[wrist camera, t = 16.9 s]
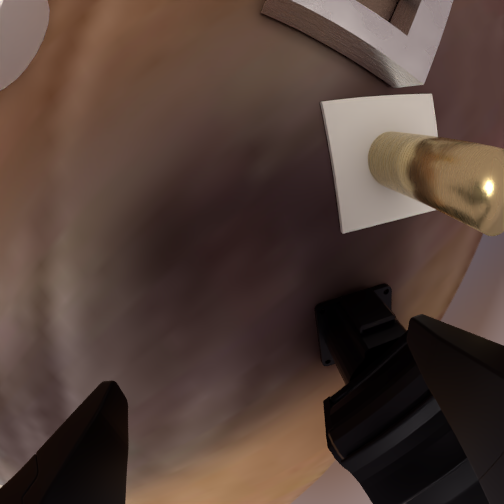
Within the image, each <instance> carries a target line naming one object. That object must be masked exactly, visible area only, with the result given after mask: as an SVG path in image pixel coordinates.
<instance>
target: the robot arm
mask: <svg viewBox="0 0 504 504" xmlns="http://www.w3.org/2000/svg"><path fill="white" fill-rule="evenodd" d="M386 289H387V290H386ZM384 290H386V291H385V292H384ZM391 293H392V290H391V287H390V286H389V285H388V284H383V285H380V286H377V287H374V288H371V289H370V288H369V289H366V290H363V291H360V292H356V293H353V294H350V295H346V296H343V297H341V298H338V299H335V300H331V301H328V302H324V303H321V304H319V305H317V306H316V308H315V315H316V323H317V331H318V339H319V347H320V355H321V362H322V364H323V365H324V366H329V365H332V364H336V366H337V368H338V370H339V372H340V374H341V376H342V378H343V380H344V382H345V384H346V385H345V386H344V387H343V388H342V389H340V390H339V391H338V392H337V393H335V394H334V395H333V396H331V397H328V398H327V399H325V400H324V401H323V403H324V415H325V427H326V439H327V446H328V449H329V450H330V451H331V452H332V454H333V456H334V458H335V459H336V460H337V461H338V462H339V463H340V464H341V465H342V466H343V467H344V468H345V469H347V470H348V471H349V472H350V473H351V474H352V475H353V476H354V477H355V478H356V479H357V481H358V482H359V483H360V484H361V486H362V487H363V489H364V490H365V492H366V493H367V495H368V497H369V498H370V500H371V502H372V503H373V504H504V346H503V345H500V344H498V343H495V342H493V341H490V340H487V339H485V338H483V337H480V336H477V335H475V334H472V333H470V332H467V331H464V330H462V329H459V328H457V327H454V326H452V325H449V324H446V323H444V322H441V321H439V320H436V319H434V318H431V317H428V316H426V315H423V314H420V315H417V316H414V317H412V318H411V319H410V321H409V326H408V330H407V331H406V329H405V328H404V327H403V326H402V325H401V324H400V322H399V321H398V320H397V319H396V316H395V315H394V314H393V312H392V311H391ZM321 309H324V310H323V311H322V312H320V310H321ZM326 360H327V361H326ZM127 461H128V402H127V399H126V397H125V395H124V394H123V392H122V391H121V389H120V387H119V386H118V384H117V383H116V382H115V381H104V382H102V383H100V384H99V386H98V387H97V388H96V389H95V390H94V391H93V392H92V393H91V394H90V395H89V396H88V397H87V398H86V399H85V400H84V401H83V403H82V404H81V405H80V406H79V407H78V408H77V409H76V410H75V411H74V412H73V413H72V414H71V415H70V416H69V418H68V419H67V420H66V421H65V422H64V423H63V424H62V425H61V426H60V427H59V428H58V429H57V431H56V432H55V433H54V434H53V435H52V436H51V437H50V438H49V439H48V440H47V441H46V442H45V444H44V445H43V446H42V447H41V448H40V449H39V450H38V451H37V452H36V454H34V455H33V457H32V458H31V459H30V460H29V461H28V462H27V463H26V464H25V465H24V466H23V467H22V468H21V469H20V470H19V471H18V472H17V473H16V474H15V475H14V476H13V477H12V478H11V479H10V480H9V481H8V482H7V483H6V484H5V485H3V486H2V487H1V488H0V504H125V497H126V476H127Z"/></svg>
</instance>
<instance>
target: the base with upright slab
mask: <svg viewBox="0 0 504 504" xmlns="http://www.w3.org/2000/svg"><path fill="white" fill-rule="evenodd" d="M49 12H50V10H49V4H48V0H0V90H2V89H5V88H6V87H7V86H8V85H10V84H11V83H12V82H14V81H15V80H16V79H17V78H18V77H19V76H20V75H21V74H22V73H23V71H24V70H25V69H26V68H27V67H28V65H29V64H30V62H31V61H32V59H33V58H34V56H35V55H36V53H37V51H38V49H39V47H40V45H41V43H42V41H43V39H44V36H45V33H46V29H47V26H48V22H49Z"/></svg>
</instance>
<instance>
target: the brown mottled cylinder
mask: <svg viewBox="0 0 504 504" xmlns="http://www.w3.org/2000/svg"><path fill="white" fill-rule="evenodd" d="M368 166H369V170H370V173H371V175H372V176H373V178H374V179H375V180H376V181H377V182H378V183H379V184H380V185H382V186H384V187H387V188H389V189H391V190H394V191H396V192H398V193H401V194H403V195H405V196H408V197H410V198H412V199H414V200H417V201H419V202H421V203H423V204H425V205H428V206H430V207H432V208H434V209H436V210H438V211H440V212H442V213H444V214H446V215H449V216H451V217H453V218H455V219H457V220H459V221H461V222H463V223H465V224H466V225H468V226H470V227H472V228H474V229H476V230H478V231H480V232H482V233H484V234H486V235H488V236H496V235H499V234H501V233H502V232H503V231H504V149H502V148H497V147H493V146H488V145H483V144H478V143H472V142H467V141H461V140H455V139H449V138H442V137H435V136H428V135H420V134H412V133H403V132H393V131H390V132H385V133H382V134H381V135H379V136H378V137H377V138H376V139H375V140H374V141H373V143H372V145H371V147H370V149H369V153H368Z"/></svg>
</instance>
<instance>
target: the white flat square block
mask: <svg viewBox="0 0 504 504" xmlns="http://www.w3.org/2000/svg"><path fill="white" fill-rule="evenodd" d="M320 105H321V110H322V115H323V120H324V125H325V130H326V136H327V141H328V147H329V153H330V158H331V165H332V171H333V177H334V184H335V191H336V198H337V205H338V213H339V221H340V229H341V232H342V233H343V234H344V233H348V232H352V231H356V230H360V229H363V228H367V227H371V226H375V225H379V224H383V223H387V222H391V221H395V220H398V219H402V218H406V217H410V216H414V215H418V214H422V213H426V212H429V211H433V210H436V209H434V208H432V207H430V206H428V205H425V204H423V203H421V202H419V201H417V200H414V199H412V198H410V197H408V196H405V195H403V194H401V193H398V192H396V191H394V190H391V189H389V188H387V187H384V186H382V185H380V184H379V183H378V182H377V181H376V180H375V179H374V178H373V176H372V175H371V173H370V170H369V166H368V153H369V149H370V147H371V145H372V143H373V141H374V140H375V139H376V138H377V137H378V136H379V135H381V134H382V133H385V132H390V131H393V132H403V133H412V134H420V135H428V136H435V137H438V135H437V126H436V118H435V111H434V104H433V98H432V94H405V95H385V96H371V97H359V98H349V99H340V100H331V101H323V102H320Z"/></svg>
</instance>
